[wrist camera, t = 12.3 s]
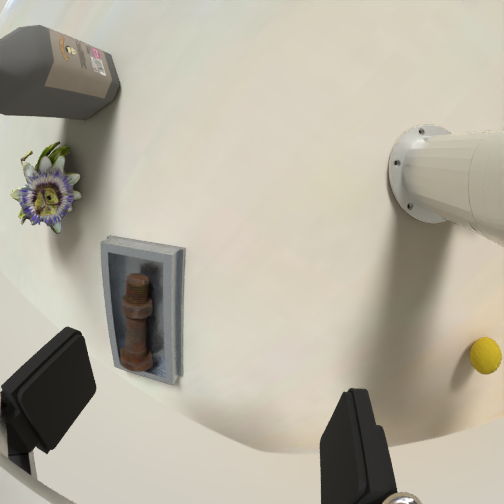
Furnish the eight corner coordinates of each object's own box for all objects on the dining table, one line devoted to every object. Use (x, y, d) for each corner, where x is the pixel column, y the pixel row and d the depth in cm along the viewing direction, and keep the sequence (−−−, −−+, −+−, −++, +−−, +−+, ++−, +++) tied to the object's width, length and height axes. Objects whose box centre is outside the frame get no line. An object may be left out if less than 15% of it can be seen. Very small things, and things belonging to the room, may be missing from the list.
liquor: (111, 47, 30) (-56, -12, 2) (126, 94, 33) (-76, 57, 4) (67, 81, 32) (-96, 63, 4) (79, 127, 35) (-105, 137, 6)
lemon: (488, 344, 37) (508, 369, 29) (464, 360, 38) (483, 388, 31) (485, 323, 36) (508, 348, 28) (461, 340, 37) (482, 368, 30)
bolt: (154, 268, 41) (149, 350, 45) (120, 266, 38) (120, 349, 43) (158, 287, 36) (153, 373, 40) (119, 285, 34) (121, 373, 38)
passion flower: (98, 189, 43) (68, 247, 36) (48, 183, 41) (16, 236, 34) (87, 132, 34) (44, 190, 27) (33, 131, 32) (-11, 184, 25)
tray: (185, 248, 38) (176, 255, 35) (183, 373, 45) (176, 385, 42) (110, 235, 39) (97, 241, 36) (120, 355, 46) (112, 366, 43)
